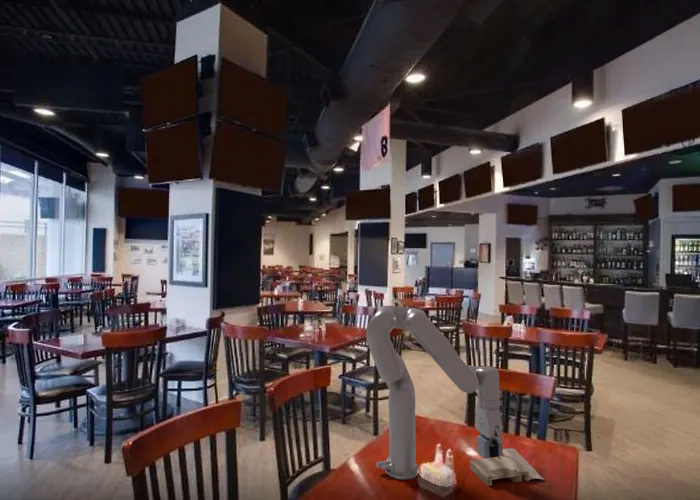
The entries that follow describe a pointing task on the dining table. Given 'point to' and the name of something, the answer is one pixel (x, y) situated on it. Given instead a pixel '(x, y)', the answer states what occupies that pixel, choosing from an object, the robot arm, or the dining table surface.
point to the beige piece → (522, 463)
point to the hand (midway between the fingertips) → (489, 452)
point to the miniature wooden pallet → (498, 469)
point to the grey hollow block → (486, 446)
